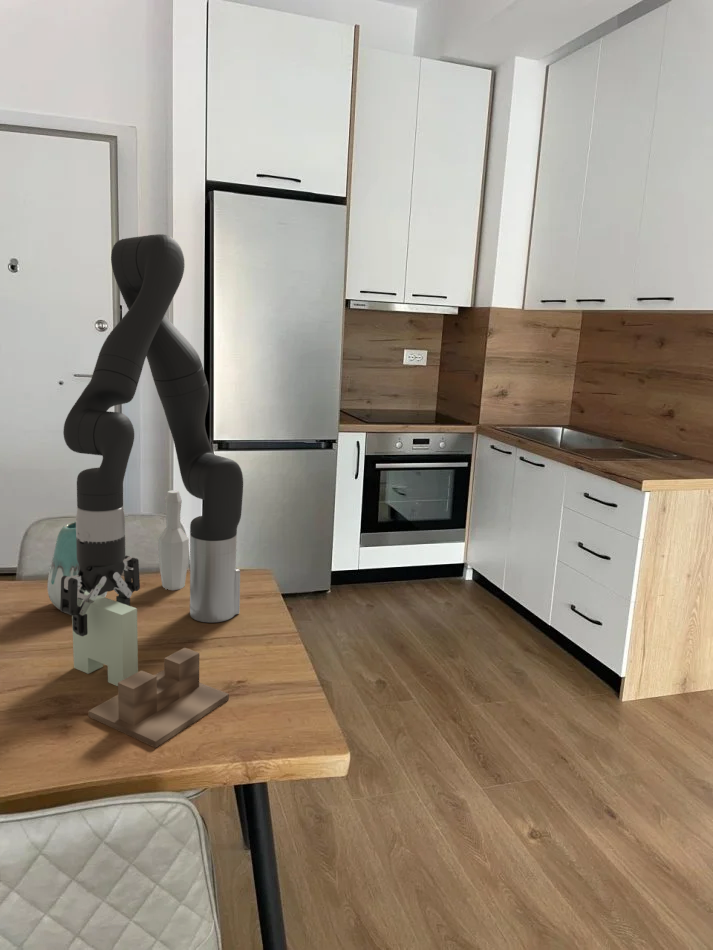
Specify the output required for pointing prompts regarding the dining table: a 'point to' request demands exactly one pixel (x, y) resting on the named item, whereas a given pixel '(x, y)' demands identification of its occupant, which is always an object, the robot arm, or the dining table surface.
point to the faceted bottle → (173, 545)
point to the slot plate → (160, 700)
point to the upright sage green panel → (108, 640)
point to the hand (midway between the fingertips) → (102, 625)
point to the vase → (63, 562)
